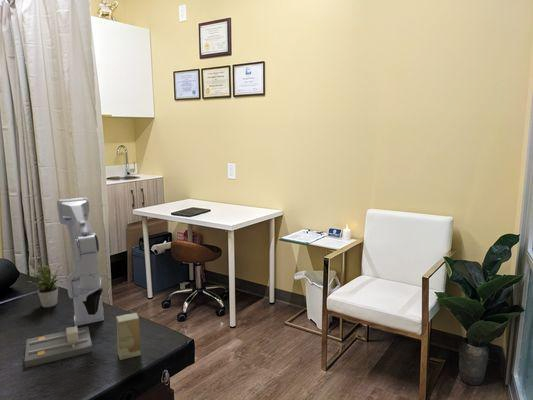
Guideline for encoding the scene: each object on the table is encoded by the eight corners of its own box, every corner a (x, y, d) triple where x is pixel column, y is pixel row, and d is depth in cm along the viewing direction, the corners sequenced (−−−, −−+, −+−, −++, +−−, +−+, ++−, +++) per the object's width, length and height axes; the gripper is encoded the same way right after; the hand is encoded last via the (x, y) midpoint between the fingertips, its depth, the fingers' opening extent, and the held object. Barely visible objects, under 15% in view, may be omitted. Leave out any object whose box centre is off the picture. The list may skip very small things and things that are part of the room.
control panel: (88, 331, 139) (88, 324, 138) (92, 351, 127) (91, 343, 126) (27, 345, 131) (26, 337, 130) (25, 367, 118) (24, 359, 118)
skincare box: (119, 360, 122) (116, 322, 119) (117, 353, 125) (114, 316, 123) (142, 355, 124) (139, 317, 122) (139, 348, 128) (136, 311, 126)
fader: (77, 334, 133) (77, 325, 132) (78, 340, 129) (77, 331, 128) (67, 336, 131) (66, 328, 131) (67, 343, 127) (66, 334, 127)
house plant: (18, 306, 159) (13, 265, 156) (54, 293, 170) (50, 256, 167) (37, 315, 151) (32, 273, 148) (73, 302, 162) (69, 262, 159)
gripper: (85, 265, 136) (89, 303, 139) (66, 281, 122) (70, 324, 124) (107, 264, 136) (110, 303, 139) (90, 281, 122) (94, 323, 125)
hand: (93, 313), depth 132 cm, fingers closed
